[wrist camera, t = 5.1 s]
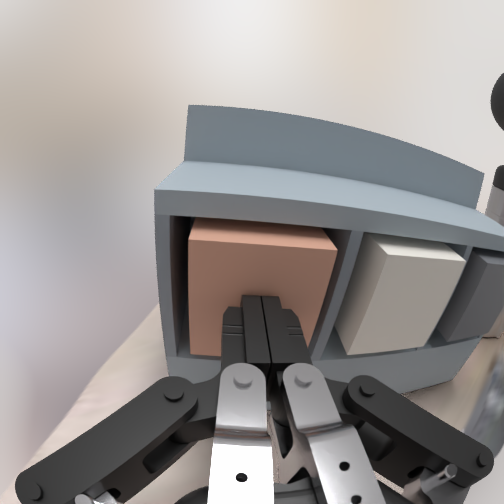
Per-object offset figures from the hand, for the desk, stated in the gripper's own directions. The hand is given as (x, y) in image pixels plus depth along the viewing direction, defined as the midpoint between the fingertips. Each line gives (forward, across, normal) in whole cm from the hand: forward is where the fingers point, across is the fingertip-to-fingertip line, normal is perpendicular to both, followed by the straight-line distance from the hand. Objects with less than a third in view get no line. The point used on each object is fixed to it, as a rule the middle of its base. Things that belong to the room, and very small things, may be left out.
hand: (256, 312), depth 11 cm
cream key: (+3, -8, +3) cm, 9 cm away
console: (+6, -8, +10) cm, 14 cm away
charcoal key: (+3, -16, +3) cm, 16 cm away
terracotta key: (+3, 0, +3) cm, 4 cm away
